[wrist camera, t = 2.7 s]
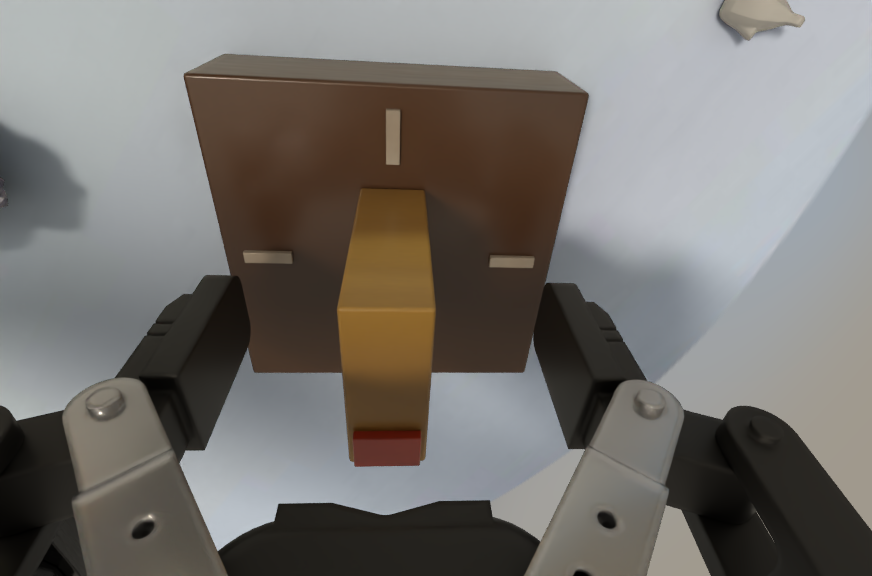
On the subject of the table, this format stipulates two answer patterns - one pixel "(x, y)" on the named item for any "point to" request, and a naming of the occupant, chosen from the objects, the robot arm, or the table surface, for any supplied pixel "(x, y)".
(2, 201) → the seashell
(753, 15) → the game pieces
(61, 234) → the table surface
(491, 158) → the lock plate
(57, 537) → the block
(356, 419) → the thumb turn
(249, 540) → the robot arm
